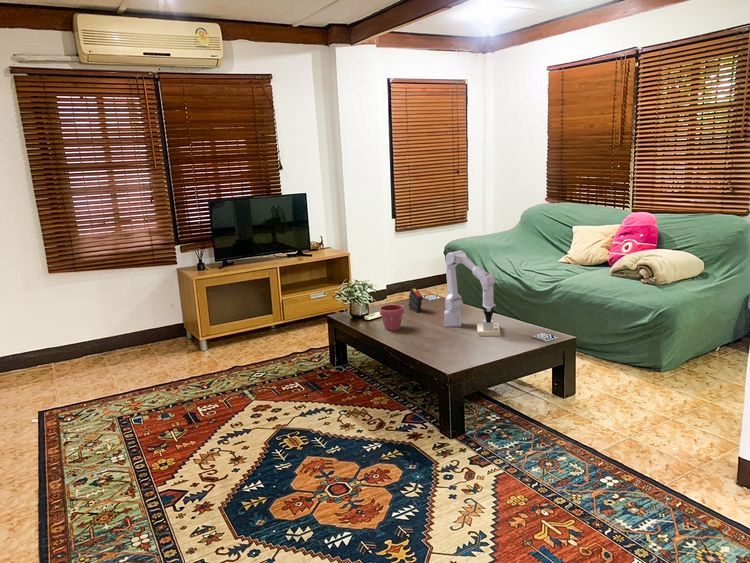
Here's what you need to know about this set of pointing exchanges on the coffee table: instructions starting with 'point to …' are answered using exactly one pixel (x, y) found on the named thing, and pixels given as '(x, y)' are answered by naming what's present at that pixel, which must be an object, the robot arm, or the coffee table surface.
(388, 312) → the plant pot
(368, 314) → the coffee table surface
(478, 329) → the socket board
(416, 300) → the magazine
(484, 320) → the plug
